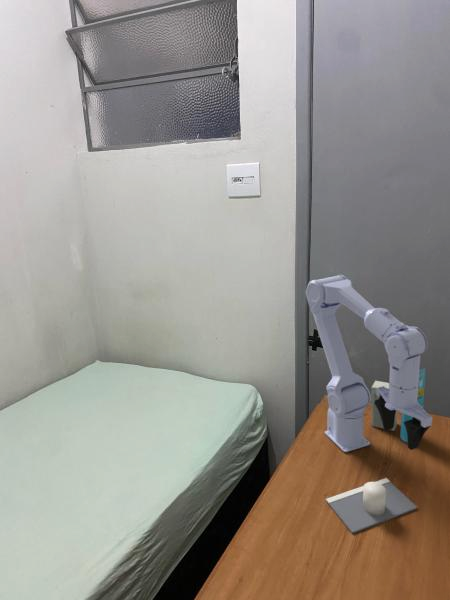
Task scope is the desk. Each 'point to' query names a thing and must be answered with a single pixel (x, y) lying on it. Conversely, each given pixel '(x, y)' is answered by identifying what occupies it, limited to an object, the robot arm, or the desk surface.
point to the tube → (419, 399)
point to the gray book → (356, 516)
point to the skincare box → (375, 414)
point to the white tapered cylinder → (374, 498)
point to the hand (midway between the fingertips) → (400, 438)
